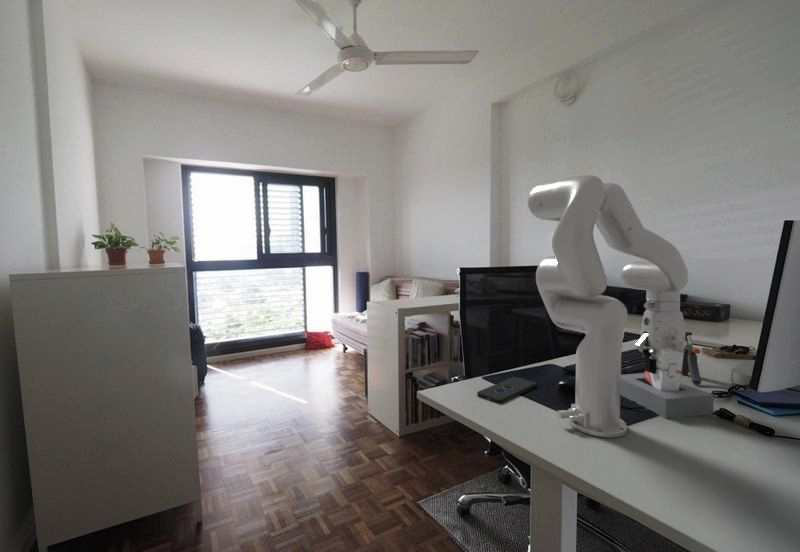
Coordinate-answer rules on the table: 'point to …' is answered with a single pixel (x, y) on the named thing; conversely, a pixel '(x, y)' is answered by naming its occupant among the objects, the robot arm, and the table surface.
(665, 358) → the ink cartridge box
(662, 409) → the cartridge dock
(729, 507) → the table surface
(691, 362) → the hand grip strengthener
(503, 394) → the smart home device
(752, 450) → the table surface
